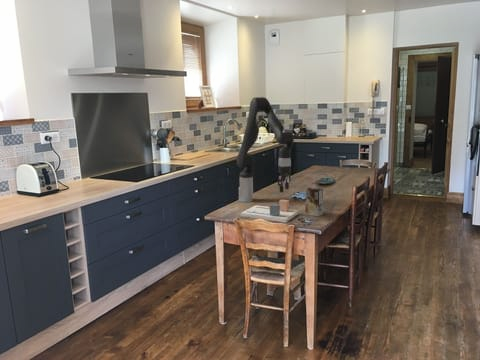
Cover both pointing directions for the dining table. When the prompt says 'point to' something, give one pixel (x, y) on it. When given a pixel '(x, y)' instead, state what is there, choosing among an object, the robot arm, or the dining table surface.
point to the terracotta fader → (284, 205)
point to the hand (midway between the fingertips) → (284, 190)
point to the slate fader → (275, 209)
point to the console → (264, 213)
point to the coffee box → (314, 201)
